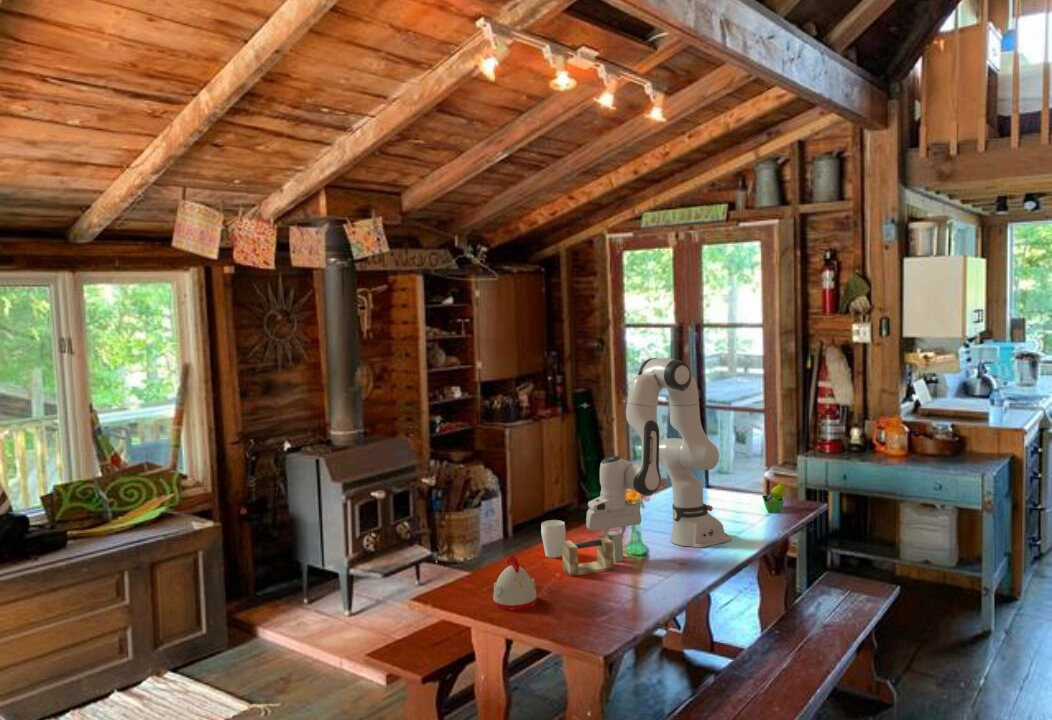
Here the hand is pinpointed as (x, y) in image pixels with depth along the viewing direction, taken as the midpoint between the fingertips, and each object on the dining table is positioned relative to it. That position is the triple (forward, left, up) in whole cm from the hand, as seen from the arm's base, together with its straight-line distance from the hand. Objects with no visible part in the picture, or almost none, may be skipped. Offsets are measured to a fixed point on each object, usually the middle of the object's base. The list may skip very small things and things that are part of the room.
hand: (614, 539), depth 308 cm
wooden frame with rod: (+13, +7, -7) cm, 16 cm away
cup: (+19, -13, -7) cm, 24 cm away
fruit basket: (-84, -30, -7) cm, 90 cm away
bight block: (0, 0, -7) cm, 7 cm away
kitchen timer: (+45, +26, -7) cm, 52 cm away
